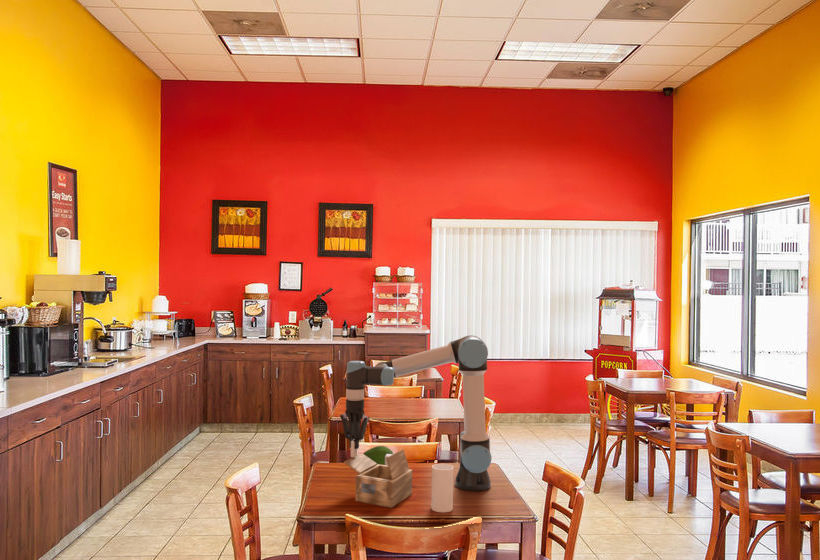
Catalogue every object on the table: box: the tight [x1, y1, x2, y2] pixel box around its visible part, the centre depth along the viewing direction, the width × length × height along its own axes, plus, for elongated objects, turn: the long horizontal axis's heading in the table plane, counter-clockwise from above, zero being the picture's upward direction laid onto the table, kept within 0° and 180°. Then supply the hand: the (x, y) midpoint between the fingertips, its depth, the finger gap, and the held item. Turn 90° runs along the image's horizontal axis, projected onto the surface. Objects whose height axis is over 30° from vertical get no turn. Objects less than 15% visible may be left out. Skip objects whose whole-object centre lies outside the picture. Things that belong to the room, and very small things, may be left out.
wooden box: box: [355, 464, 413, 509], centre depth 249 cm, size 16×19×10 cm
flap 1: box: [343, 452, 377, 474], centre depth 254 cm, size 1×14×8 cm
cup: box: [430, 463, 455, 513], centre depth 238 cm, size 8×8×16 cm
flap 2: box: [386, 449, 410, 478], centre depth 247 cm, size 1×14×8 cm, turn 155°
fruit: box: [362, 445, 394, 465], centre depth 290 cm, size 15×10×10 cm, turn 91°
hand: (353, 456), depth 255 cm, fingers closed
